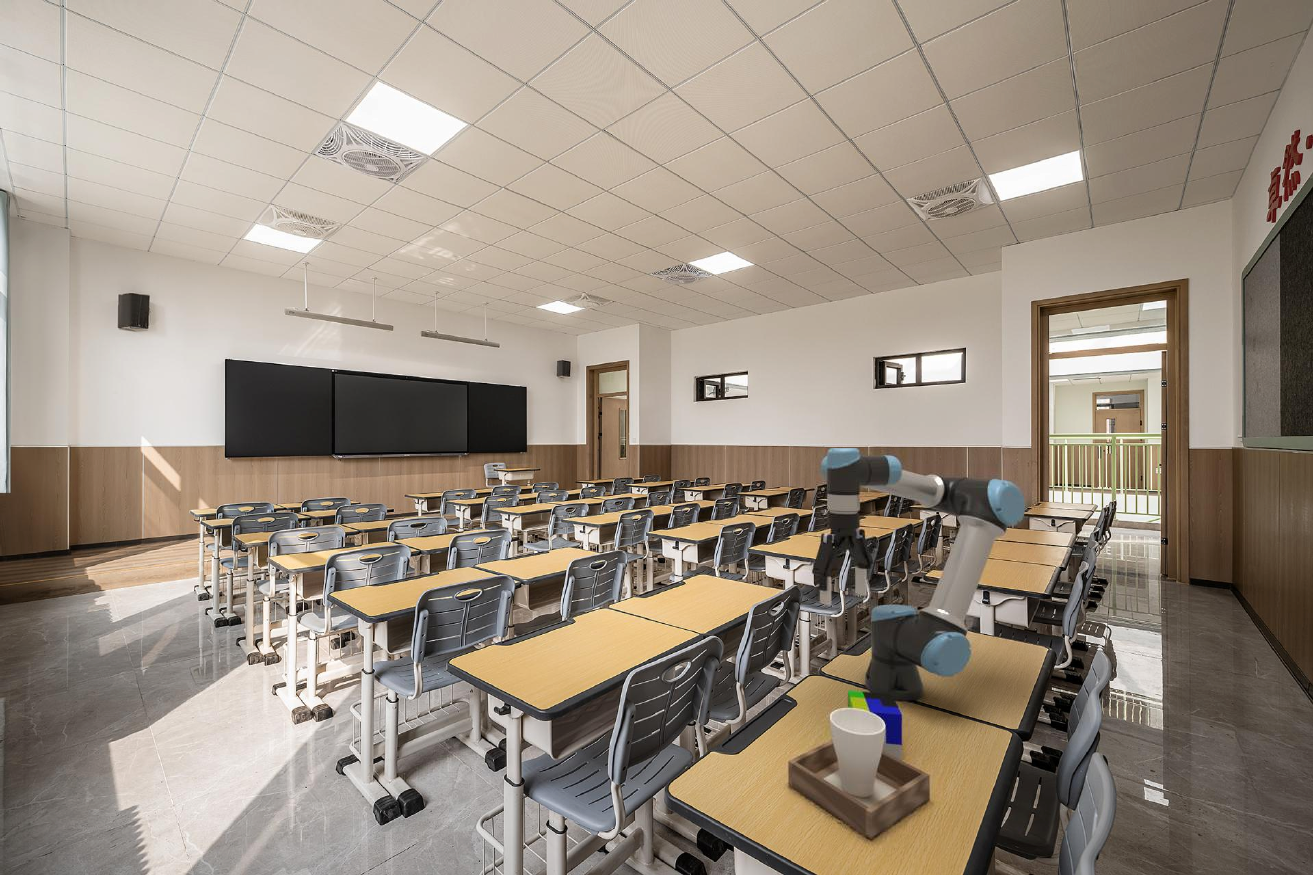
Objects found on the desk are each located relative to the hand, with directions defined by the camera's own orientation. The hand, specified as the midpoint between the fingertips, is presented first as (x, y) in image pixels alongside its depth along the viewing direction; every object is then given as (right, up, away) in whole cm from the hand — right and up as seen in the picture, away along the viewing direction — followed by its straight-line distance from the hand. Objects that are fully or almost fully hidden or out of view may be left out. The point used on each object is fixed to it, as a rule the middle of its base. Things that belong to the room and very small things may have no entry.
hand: (843, 599), depth 134 cm
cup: (-5, -31, -24) cm, 39 cm away
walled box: (-5, -32, -24) cm, 40 cm away
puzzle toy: (+5, -32, -7) cm, 33 cm away
